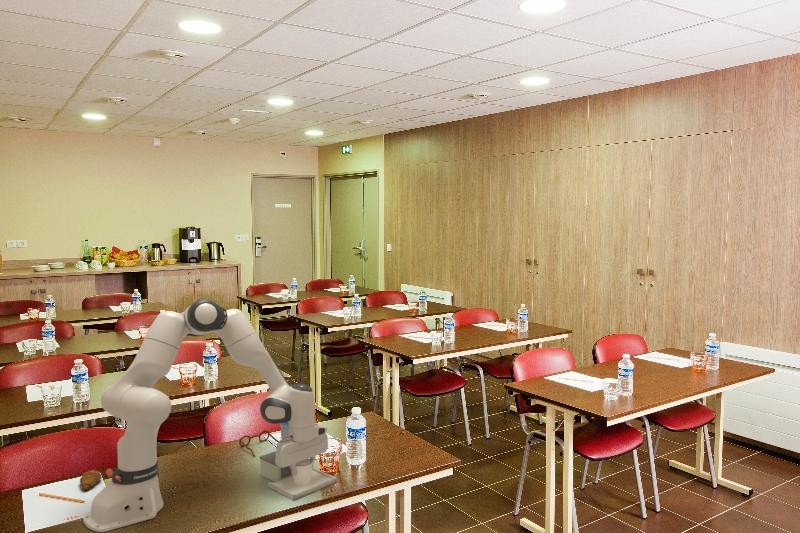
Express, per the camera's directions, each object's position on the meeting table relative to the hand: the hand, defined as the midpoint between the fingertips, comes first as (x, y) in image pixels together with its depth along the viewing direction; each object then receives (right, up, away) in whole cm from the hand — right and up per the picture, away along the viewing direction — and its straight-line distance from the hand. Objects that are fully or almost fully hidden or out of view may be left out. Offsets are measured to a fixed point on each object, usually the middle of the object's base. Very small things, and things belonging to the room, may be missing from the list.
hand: (302, 471), depth 202 cm
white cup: (0, -4, 0) cm, 4 cm away
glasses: (-22, -3, +33) cm, 40 cm away
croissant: (-72, -5, +1) cm, 73 cm away
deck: (-4, -4, +4) cm, 7 cm away
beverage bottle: (-9, -2, +32) cm, 33 cm away
